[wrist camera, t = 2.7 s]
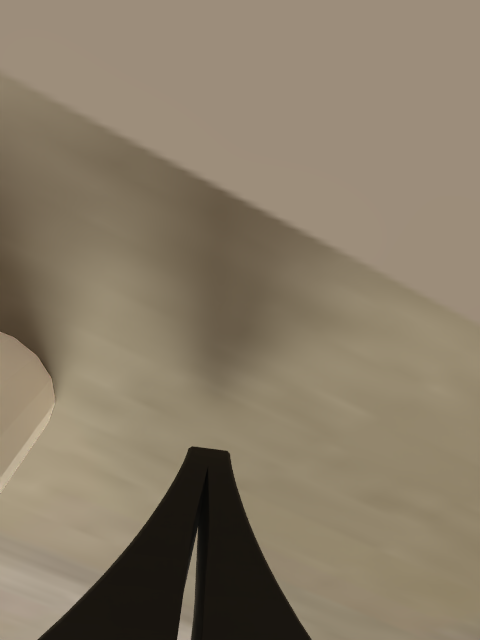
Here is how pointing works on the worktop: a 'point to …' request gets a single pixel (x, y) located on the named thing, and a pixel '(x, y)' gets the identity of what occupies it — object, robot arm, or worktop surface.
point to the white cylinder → (21, 403)
